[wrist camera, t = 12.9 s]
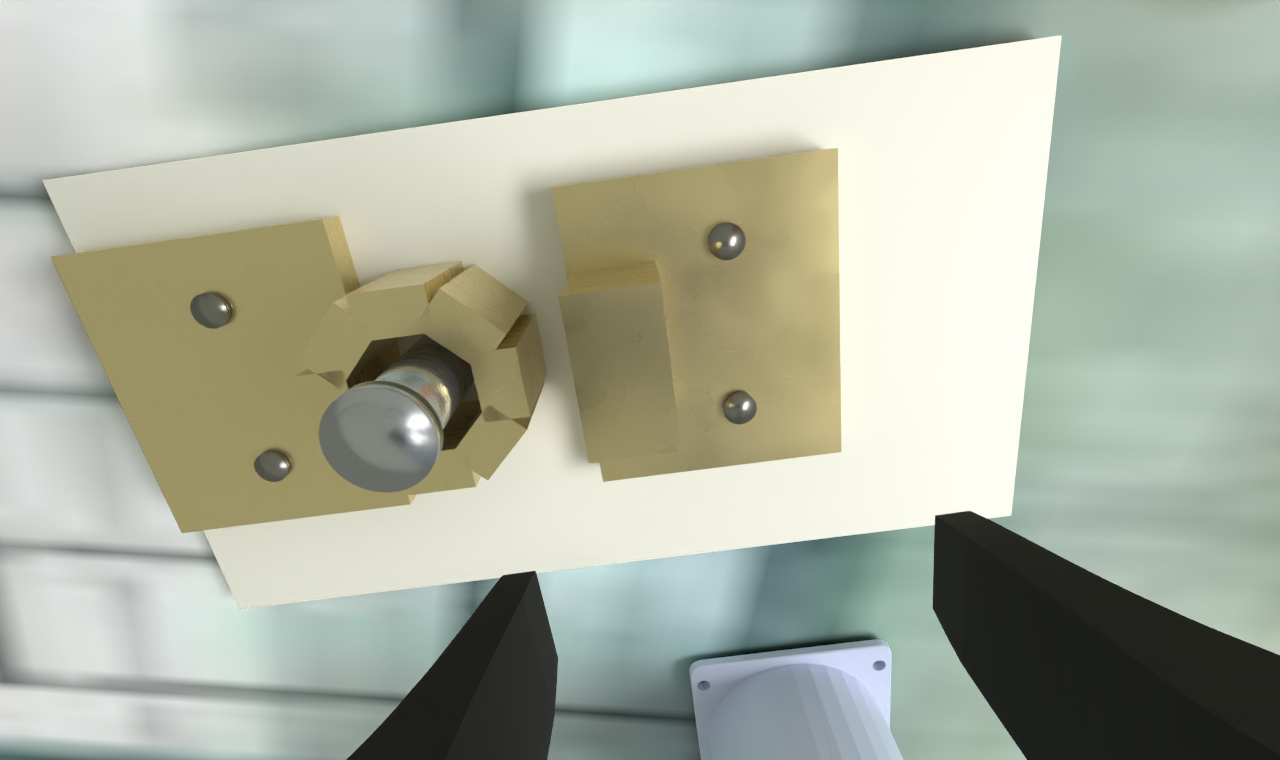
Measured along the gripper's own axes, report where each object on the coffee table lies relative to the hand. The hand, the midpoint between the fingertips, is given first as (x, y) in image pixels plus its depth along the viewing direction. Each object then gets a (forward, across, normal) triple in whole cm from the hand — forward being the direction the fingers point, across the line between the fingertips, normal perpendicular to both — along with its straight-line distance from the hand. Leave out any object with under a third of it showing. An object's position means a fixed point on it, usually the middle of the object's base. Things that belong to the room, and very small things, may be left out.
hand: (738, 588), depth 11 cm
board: (+10, +3, -2) cm, 10 cm away
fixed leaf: (+9, +11, -3) cm, 14 cm away
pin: (+9, +7, -3) cm, 12 cm away
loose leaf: (+9, -1, -3) cm, 9 cm away
